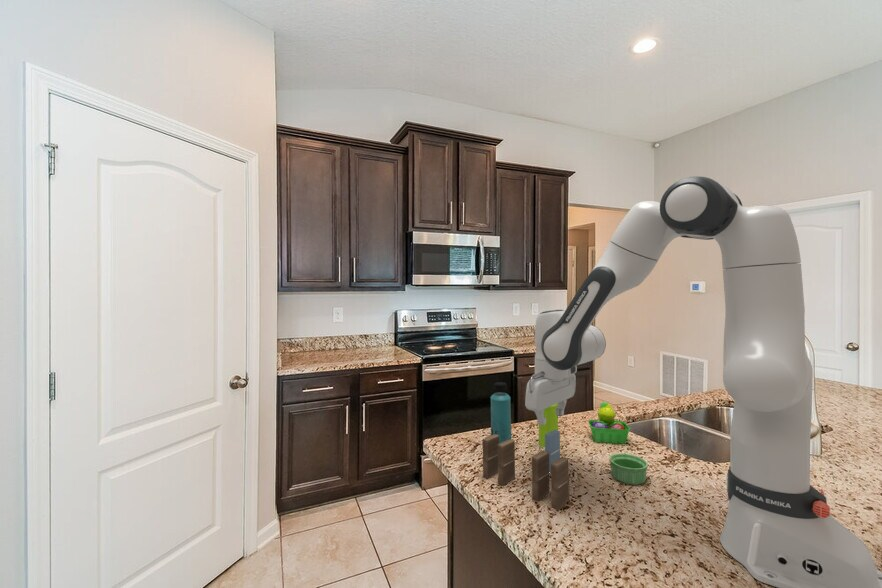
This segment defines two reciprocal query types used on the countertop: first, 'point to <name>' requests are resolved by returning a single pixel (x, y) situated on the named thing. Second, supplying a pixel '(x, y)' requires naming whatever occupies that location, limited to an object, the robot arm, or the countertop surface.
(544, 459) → the domino
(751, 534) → the robot arm
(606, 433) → the fruit basket
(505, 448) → the domino
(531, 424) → the countertop surface
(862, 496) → the countertop surface
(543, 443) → the soap dispenser
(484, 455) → the domino
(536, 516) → the countertop surface
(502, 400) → the beverage bottle
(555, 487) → the domino
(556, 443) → the domino
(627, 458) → the ramekin
